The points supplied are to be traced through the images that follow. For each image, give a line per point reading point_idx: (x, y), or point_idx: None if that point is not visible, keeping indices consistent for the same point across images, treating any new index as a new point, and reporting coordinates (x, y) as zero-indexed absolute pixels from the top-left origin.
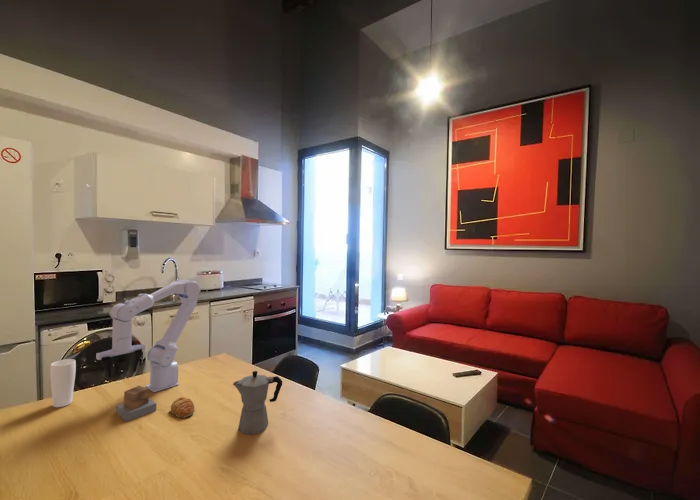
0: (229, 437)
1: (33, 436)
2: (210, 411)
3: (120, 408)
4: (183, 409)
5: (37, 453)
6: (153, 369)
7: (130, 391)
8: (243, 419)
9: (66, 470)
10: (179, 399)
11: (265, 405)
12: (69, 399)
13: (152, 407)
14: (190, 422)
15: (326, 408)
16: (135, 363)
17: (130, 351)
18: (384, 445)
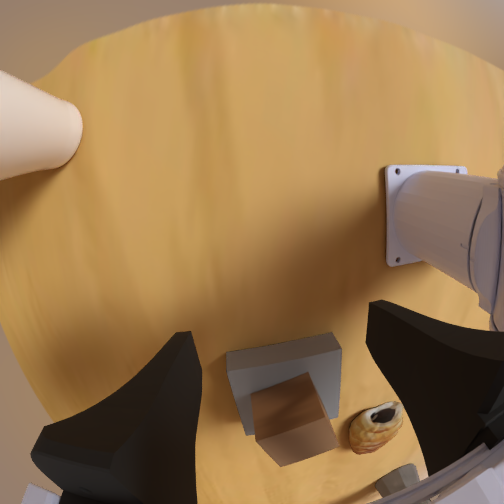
0: (358, 488)
1: (36, 339)
2: (399, 436)
3: (236, 401)
4: (363, 451)
5: (75, 413)
6: (462, 270)
7: (276, 447)
8: (383, 496)
9: None
10: (383, 431)
11: None
12: (60, 158)
13: None
14: (351, 458)
15: None
16: (403, 398)
17: (441, 490)
18: None
